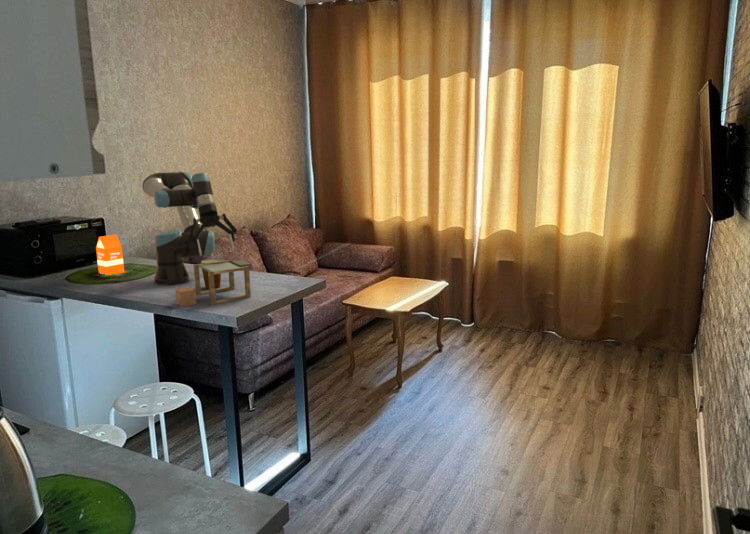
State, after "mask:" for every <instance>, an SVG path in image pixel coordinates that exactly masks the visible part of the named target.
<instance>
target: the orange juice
mask: <svg viewBox="0 0 750 534" xmlns="http://www.w3.org/2000/svg"><path fill="white" fill-rule="evenodd" d="M96 243H97V244H96V245H95V246H96V247H95V251H96V261H97V270H98V274H99V273H100V274H105V275H112V274H118V273H123V272H124V273H125V264H124V257H123V256H124V255H123V248H122V245H121V241H120V240H119V238H118V235H117V234H116V233H115V234H110V235H109V234H108V235H104V236H103V235H102V236H98V239H97V242H96Z"/></svg>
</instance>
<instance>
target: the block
mask: <svg viewBox="0 0 750 534" xmlns="http://www.w3.org/2000/svg"><path fill="white" fill-rule="evenodd" d="M175 298H176V299H175V302H176V304H177V303H178V304H179V305H178V304H177V305H178V306H180V307H187V306H192V305H197V295H196V289H195V288H193V287H191V286H187V287H186V286H185V287H180V288H175Z"/></svg>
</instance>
